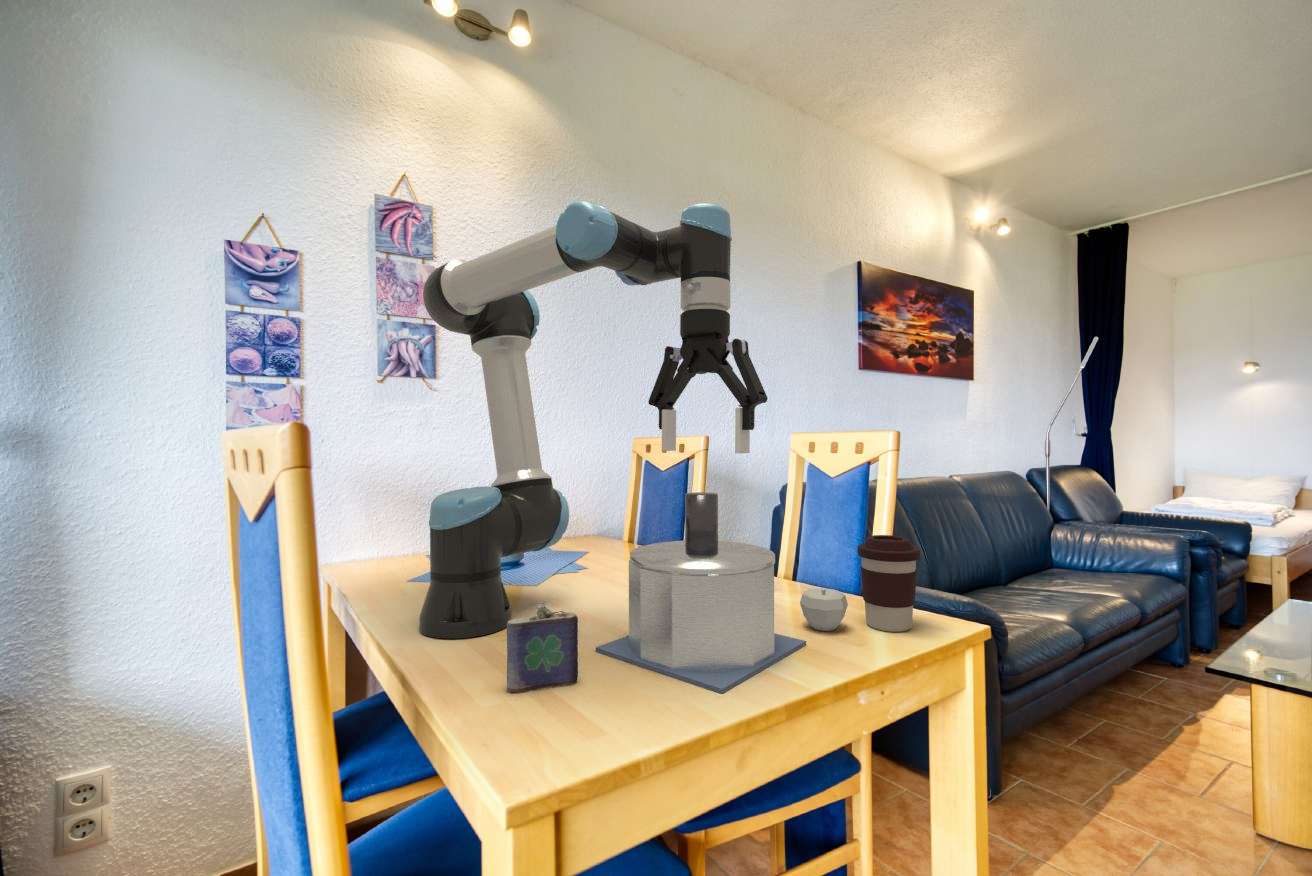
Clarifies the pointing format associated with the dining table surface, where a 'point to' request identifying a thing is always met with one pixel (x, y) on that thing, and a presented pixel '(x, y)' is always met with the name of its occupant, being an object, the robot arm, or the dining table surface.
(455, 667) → the dining table surface
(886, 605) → the coffee cup
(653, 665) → the mat
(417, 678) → the dining table surface
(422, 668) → the dining table surface
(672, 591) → the cake dome
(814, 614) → the grey faceted round piece
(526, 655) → the flask
